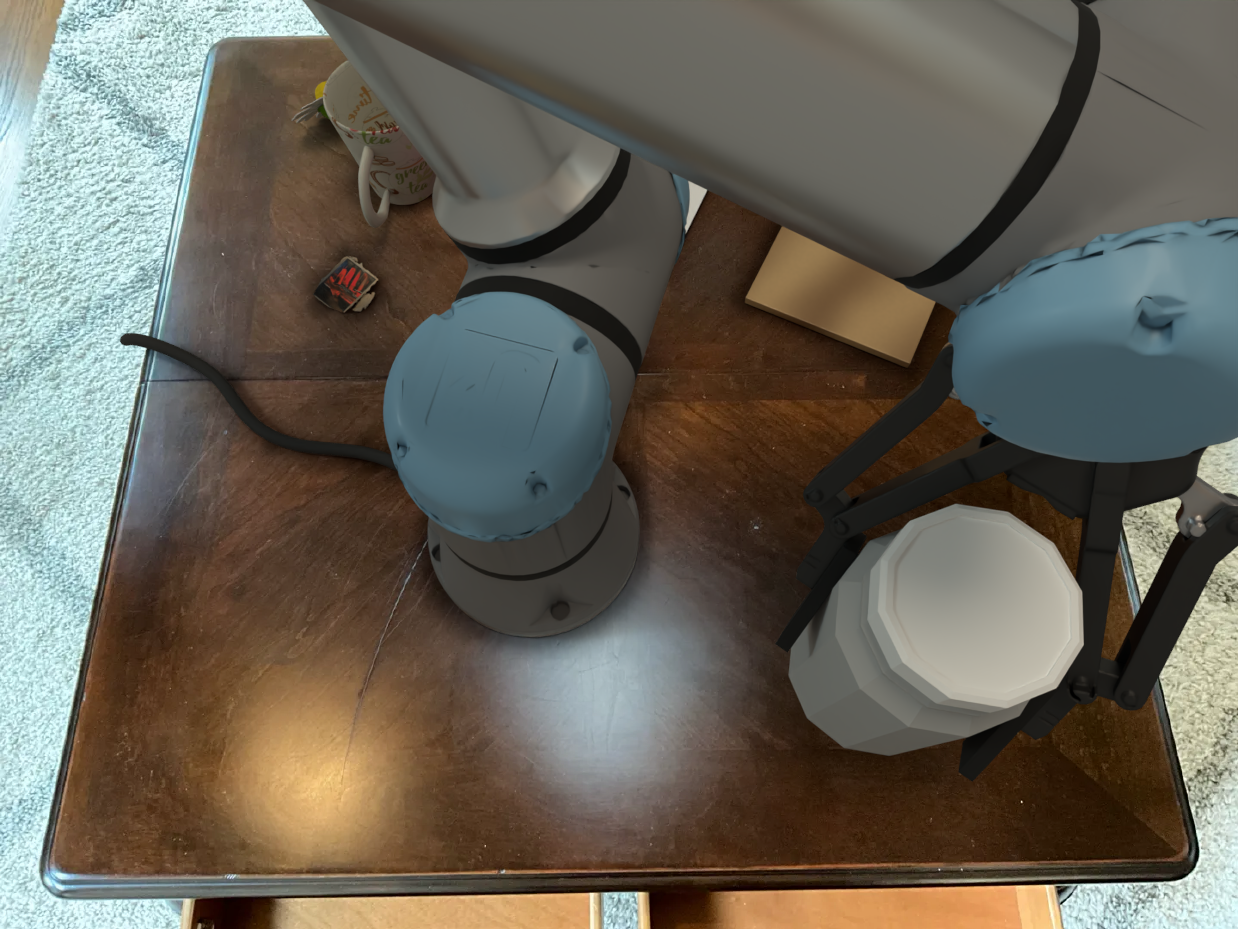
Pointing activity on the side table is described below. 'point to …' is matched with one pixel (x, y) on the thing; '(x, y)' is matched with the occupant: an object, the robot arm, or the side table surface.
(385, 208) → the mug
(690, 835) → the side table surface
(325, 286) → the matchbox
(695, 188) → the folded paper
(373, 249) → the side table surface
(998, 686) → the jar
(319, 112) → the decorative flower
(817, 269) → the cork mat
